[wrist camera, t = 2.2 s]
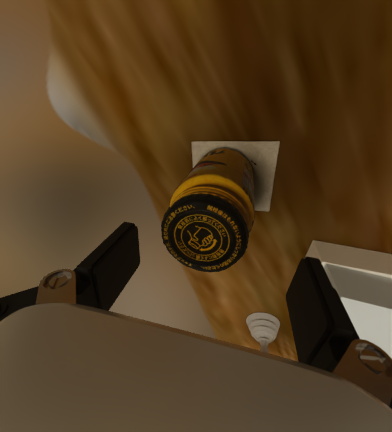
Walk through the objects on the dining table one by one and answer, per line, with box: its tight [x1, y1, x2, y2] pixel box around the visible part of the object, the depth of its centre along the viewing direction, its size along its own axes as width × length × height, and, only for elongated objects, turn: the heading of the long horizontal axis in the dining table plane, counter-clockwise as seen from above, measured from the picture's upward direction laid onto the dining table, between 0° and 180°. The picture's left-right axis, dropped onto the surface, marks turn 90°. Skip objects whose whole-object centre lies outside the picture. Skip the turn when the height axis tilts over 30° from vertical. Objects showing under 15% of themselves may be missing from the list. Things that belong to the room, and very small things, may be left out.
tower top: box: [324, 264, 392, 358], centre depth 20 cm, size 9×9×4 cm
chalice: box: [246, 313, 280, 353], centre depth 24 cm, size 7×7×18 cm
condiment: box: [161, 141, 280, 272], centre depth 17 cm, size 7×8×12 cm
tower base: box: [305, 240, 392, 278], centre depth 24 cm, size 10×10×4 cm
